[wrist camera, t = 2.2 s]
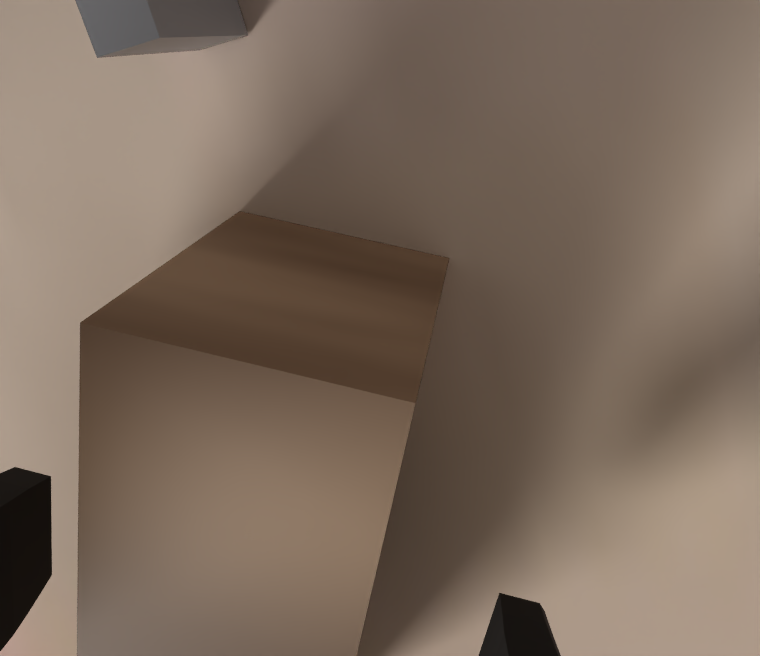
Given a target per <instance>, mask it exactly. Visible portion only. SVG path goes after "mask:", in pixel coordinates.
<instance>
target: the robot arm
mask: <svg viewBox="0 0 760 656" xmlns="http://www.w3.org/2000/svg"><path fill="white" fill-rule="evenodd" d="M51 575H52V548H51V476H47V475H43V474H40V473H36V472H32V471H28V470H24V469H20V468H16V467H14V468H12V469H10V470H7V471H5V472H3V473H0V651H1V650H2V649H3V647H4V646H5V645H6V644H7V642H8V641H9V640H10V638H11V637H12V636H13V635H14V633H15V632H16V630H17V629H18V627H19V626H20V624H21V623H22V621H23V620H24V618H25V617H26V615H27V614H28V612H29V611H30V609H31V608H32V606H33V604H34V603H35V601H36V600H37V598H38V596H39V595H40V593H41V591H42V590H43V588H44V587H45V585H46V583H47V582H48V580H49V579H50V577H51ZM479 656H561V655H560V653H559V650H558V648H557V645H556V642H555V640H554V637H553V634H552V631H551V628H550V626H549V623H548V620H547V617H546V614H545V611H544V610H543V608H542V606H541V605H540V603H536V602H532V601H529V600H525V599H521V598H517V597H513V596H509V595H505V594H502V593H499V596H498V599H497V602H496V605H495V608H494V611H493V614H492V617H491V620H490V623H489V626H488V629H487V632H486V635H485V638H484V641H483V644H482V647H481V650H480V653H479Z"/></svg>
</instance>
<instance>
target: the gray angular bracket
mask: <svg viewBox="0 0 760 656" xmlns="http://www.w3.org/2000/svg"><path fill="white" fill-rule="evenodd" d="M76 3H77V6H78V8H79V11H80V14H81V16H82V19H83V22H84V24H85V27H86V30H87V32H88V35H89V38H90V40H91V43H92V45H93V48H94V51H95V53H96V56H97V58H101V57H114V56H128V55H141V54H155V53H168V52H182V51H195V50H202V49H205V48H208V47H212V46H215V45H218V44H221V43H225V42H228V41H231V40H234V39H238V38H241V37H244V36H247V35H248V33H247V30H246V27H245V24H244V20H243V17H242V14H241V11H240V7H239V4H238V1H237V0H76Z"/></svg>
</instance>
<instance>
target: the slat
mask: <svg viewBox="0 0 760 656" xmlns="http://www.w3.org/2000/svg"><path fill="white" fill-rule="evenodd" d="M448 261H449V258H446V257H442V256H437V255H433V254H428V253H424V252H419V251H415V250H410V249H406V248H401V247H397V246H392V245H388V244H384V243H379V242H375V241H370V240H366V239H361V238H357V237H352V236H348V235H343V234H339V233H334V232H330V231H325V230H321V229H317V228H312V227H308V226H303V225H299V224H294V223H290V222H285V221H281V220H276V219H272V218H267V217H263V216H259V215H254V214H250V213H245V212H241V211H239V212H238V213H237V214H235V215H234V216H232V217H231V218H229V219H228V220H227V221H225V222H224V223H222V224H221V225H219V226H218V227H217V228H215V229H214V230H212V231H211V232H209V233H208V234H207V235H205V236H204V237H202V238H201V239H199V240H198V241H196V242H195V243H194V244H192V245H191V246H189V247H188V248H186V249H185V250H184V251H182V252H181V253H179V254H178V255H176V256H175V257H174V258H172V259H171V260H169V261H168V262H166V263H165V264H164V265H162V266H161V267H159V268H158V269H156V270H155V271H154V272H152V273H151V274H149V275H148V276H146V277H145V278H144V279H142V280H141V281H139V282H138V283H136V284H135V285H134V286H132V287H131V288H129V289H128V290H126V291H125V292H124V293H122V294H121V295H119V296H118V297H116V298H115V299H114V300H112V301H111V302H109V303H108V304H106V305H105V306H104V307H102V308H101V309H99V310H98V311H96V312H95V313H94V314H92V315H91V316H89V317H88V318H86V319H85V320H84V321H82V322H81V323H80V401H79V499H78V597H77V656H357V652H358V648H359V643H360V639H361V635H362V631H363V626H364V622H365V618H366V613H367V609H368V605H369V601H370V596H371V592H372V588H373V583H374V579H375V575H376V571H377V566H378V562H379V558H380V554H381V549H382V545H383V541H384V536H385V532H386V528H387V524H388V519H389V515H390V511H391V506H392V502H393V498H394V494H395V489H396V485H397V481H398V477H399V472H400V468H401V464H402V459H403V455H404V451H405V447H406V442H407V438H408V434H409V429H410V425H411V421H412V417H413V412H414V408H415V404H416V400H417V395H418V391H419V387H420V382H421V378H422V374H423V369H424V365H425V361H426V356H427V352H428V348H429V343H430V339H431V335H432V330H433V326H434V322H435V317H436V313H437V309H438V304H439V300H440V296H441V292H442V287H443V283H444V279H445V274H446V270H447V266H448Z"/></svg>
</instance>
